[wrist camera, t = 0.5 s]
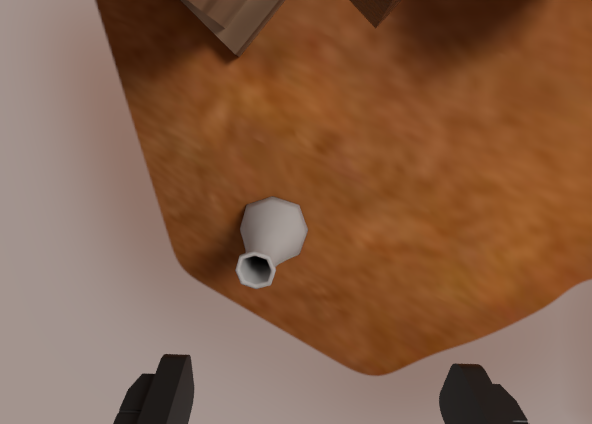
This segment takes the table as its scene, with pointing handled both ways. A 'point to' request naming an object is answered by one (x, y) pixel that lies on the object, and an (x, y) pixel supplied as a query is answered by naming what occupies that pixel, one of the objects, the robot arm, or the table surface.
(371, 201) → the table surface
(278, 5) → the walnut stand
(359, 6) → the orange and black bar
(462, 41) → the table surface
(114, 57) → the table surface
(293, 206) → the flask
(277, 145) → the table surface
